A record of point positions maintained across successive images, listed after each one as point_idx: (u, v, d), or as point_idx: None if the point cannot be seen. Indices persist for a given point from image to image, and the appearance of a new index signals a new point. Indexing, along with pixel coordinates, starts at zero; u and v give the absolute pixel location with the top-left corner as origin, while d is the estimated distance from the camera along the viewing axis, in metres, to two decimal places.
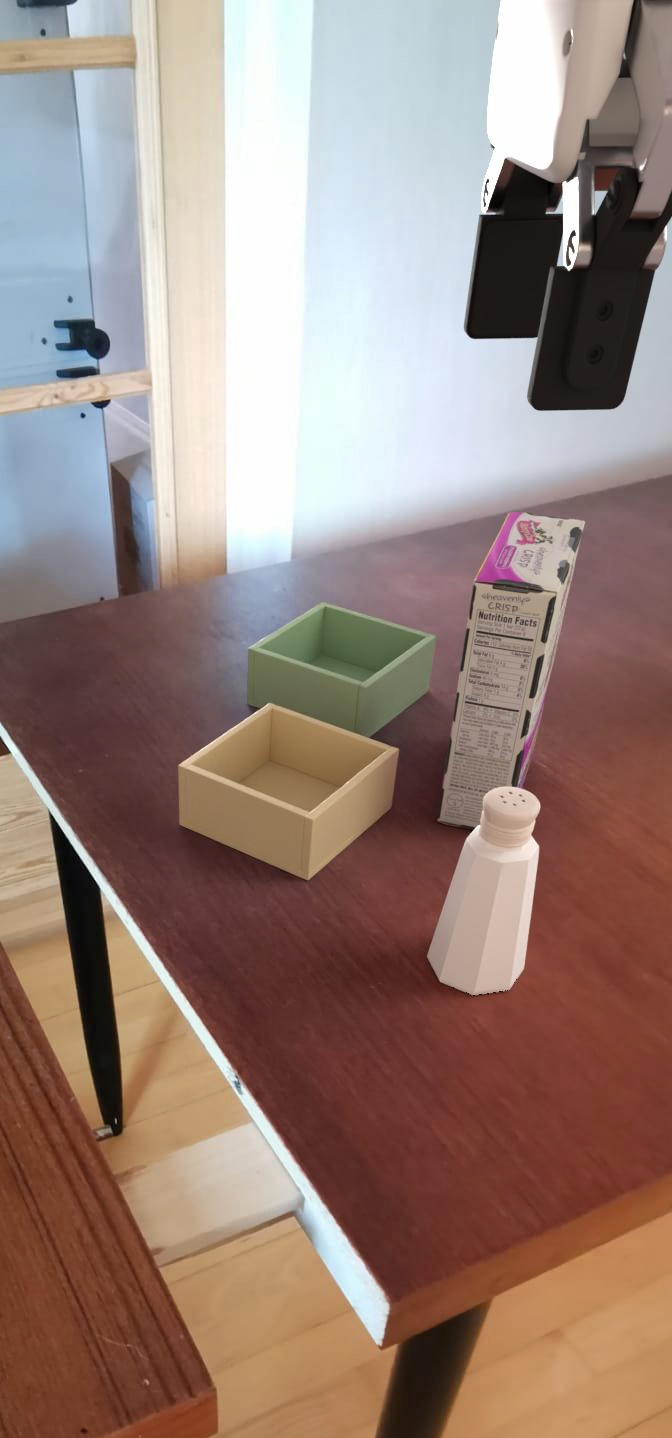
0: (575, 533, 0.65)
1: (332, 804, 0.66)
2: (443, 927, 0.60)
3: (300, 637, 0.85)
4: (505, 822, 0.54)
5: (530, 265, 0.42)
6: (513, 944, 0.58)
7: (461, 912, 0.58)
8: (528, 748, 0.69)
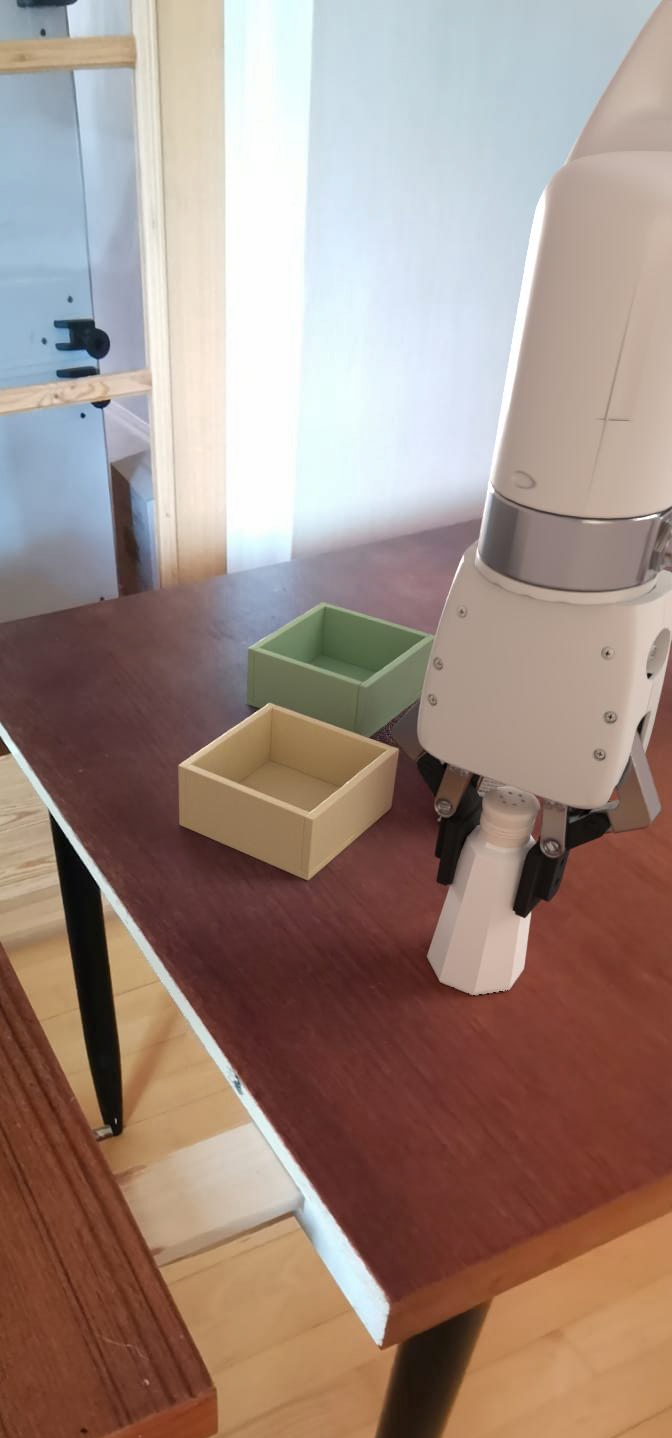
0: None
1: (332, 804, 0.66)
2: (443, 927, 0.60)
3: (300, 637, 0.85)
4: (505, 822, 0.54)
5: None
6: (513, 944, 0.58)
7: (461, 912, 0.58)
8: None
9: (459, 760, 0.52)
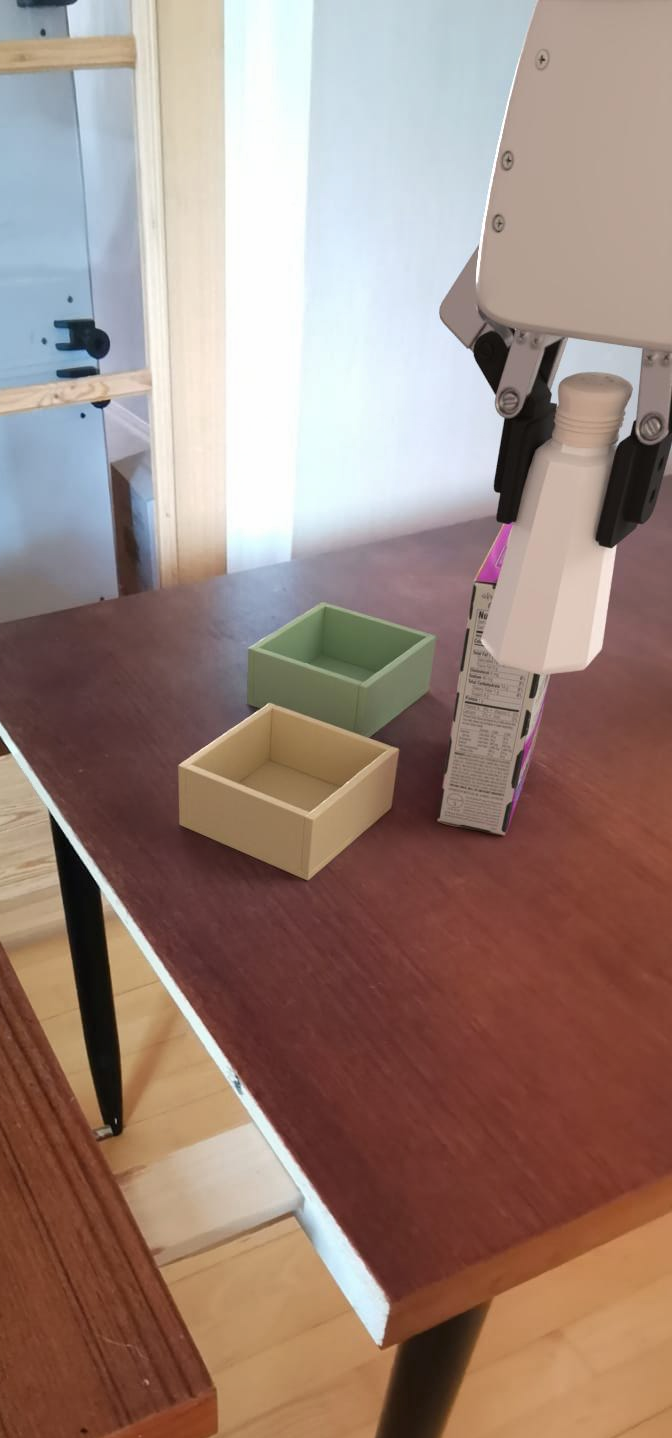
0: None
1: (332, 804, 0.66)
2: (503, 588, 0.48)
3: (300, 637, 0.85)
4: (589, 405, 0.42)
5: None
6: (593, 597, 0.47)
7: (528, 554, 0.46)
8: (528, 748, 0.69)
9: (532, 313, 0.41)
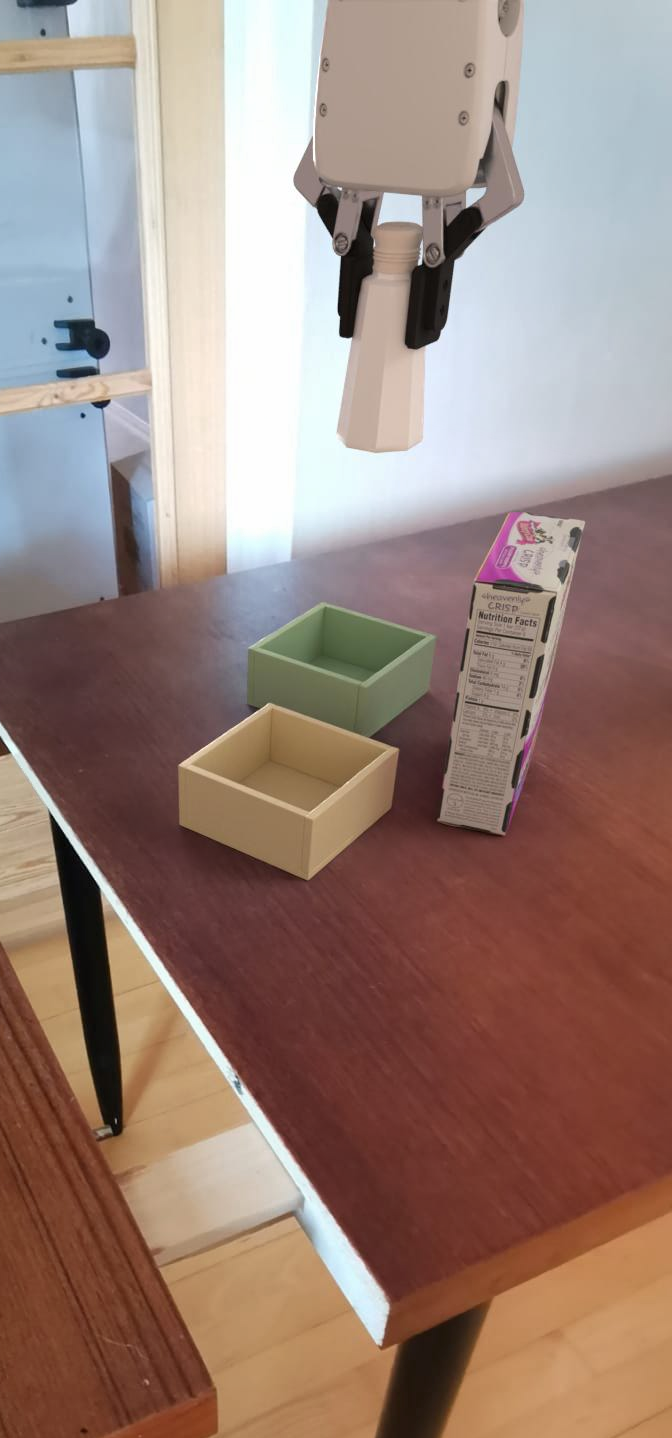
0: (575, 533, 0.65)
1: (332, 804, 0.66)
2: (347, 389, 0.66)
3: (300, 637, 0.85)
4: (392, 240, 0.60)
5: None
6: (408, 390, 0.65)
7: (360, 357, 0.64)
8: (528, 748, 0.69)
9: (349, 173, 0.59)
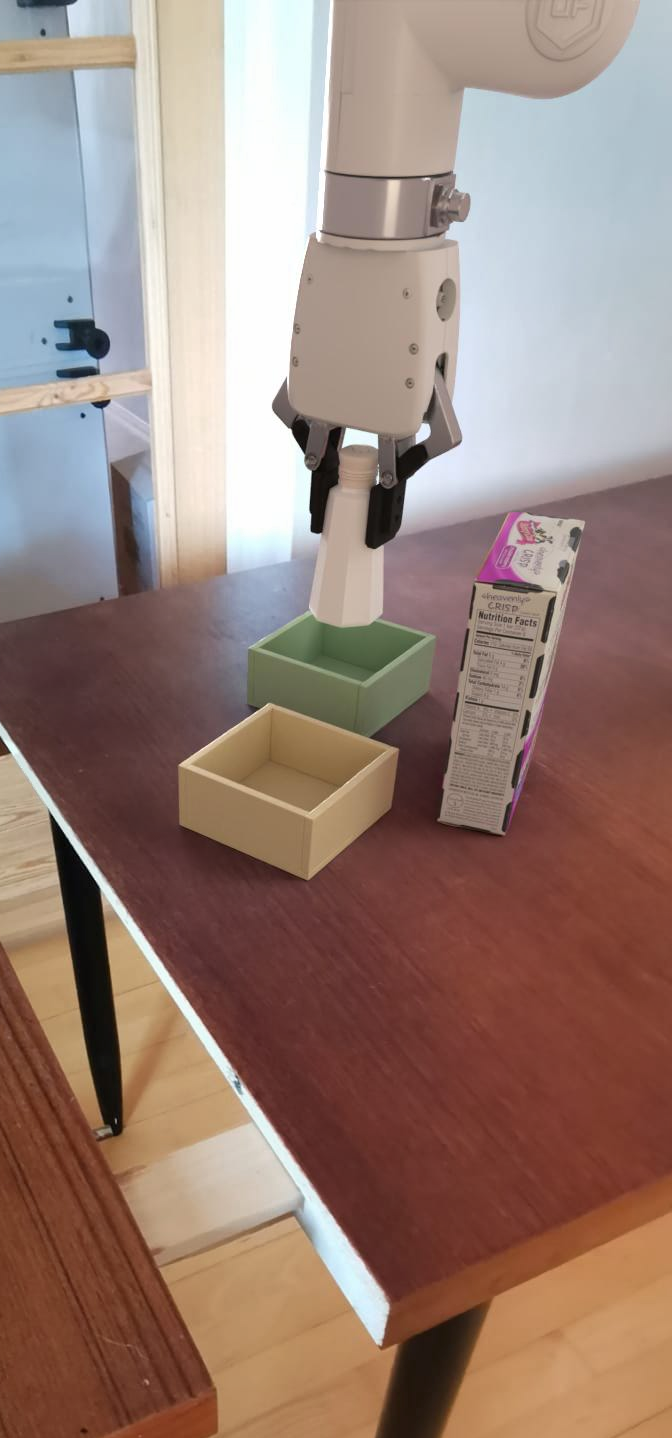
0: (575, 533, 0.65)
1: (332, 804, 0.66)
2: (317, 573, 0.77)
3: (300, 637, 0.85)
4: (354, 464, 0.71)
5: None
6: (368, 579, 0.76)
7: (328, 552, 0.75)
8: (528, 748, 0.69)
9: (317, 411, 0.70)
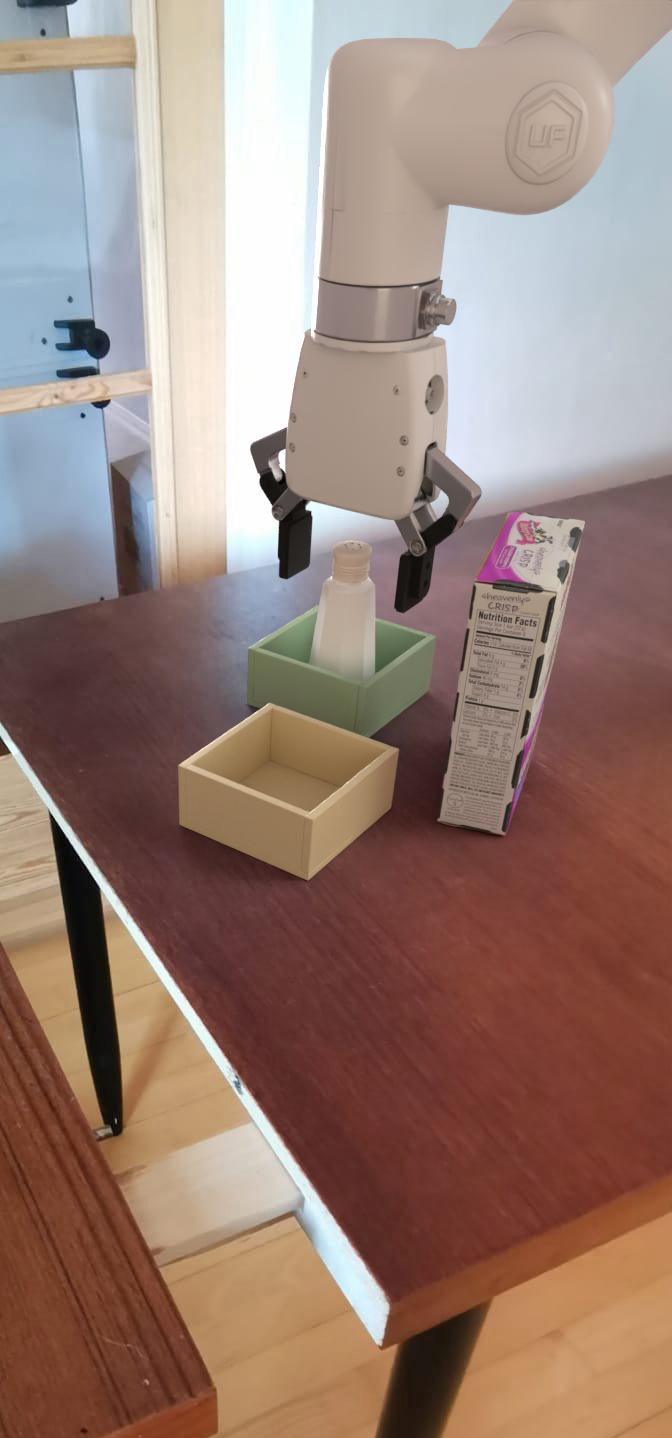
0: (575, 533, 0.65)
1: (332, 804, 0.66)
2: (313, 657, 0.82)
3: (300, 637, 0.85)
4: (346, 560, 0.76)
5: (304, 538, 0.79)
6: (361, 664, 0.80)
7: (322, 639, 0.80)
8: (528, 748, 0.69)
9: (313, 493, 0.74)
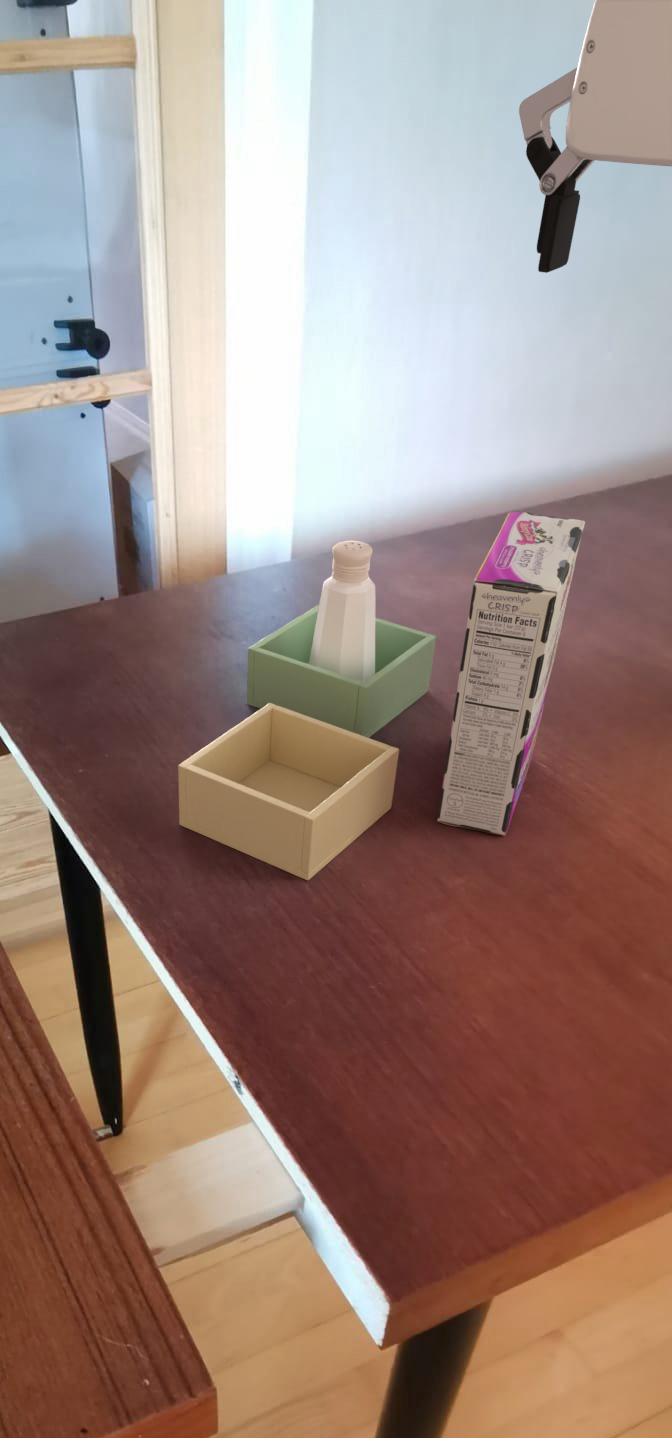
0: (575, 533, 0.65)
1: (332, 804, 0.66)
2: (313, 657, 0.82)
3: (300, 637, 0.85)
4: (346, 560, 0.76)
5: (569, 222, 0.70)
6: (361, 664, 0.80)
7: (322, 639, 0.80)
8: (528, 748, 0.69)
9: (602, 146, 0.65)
